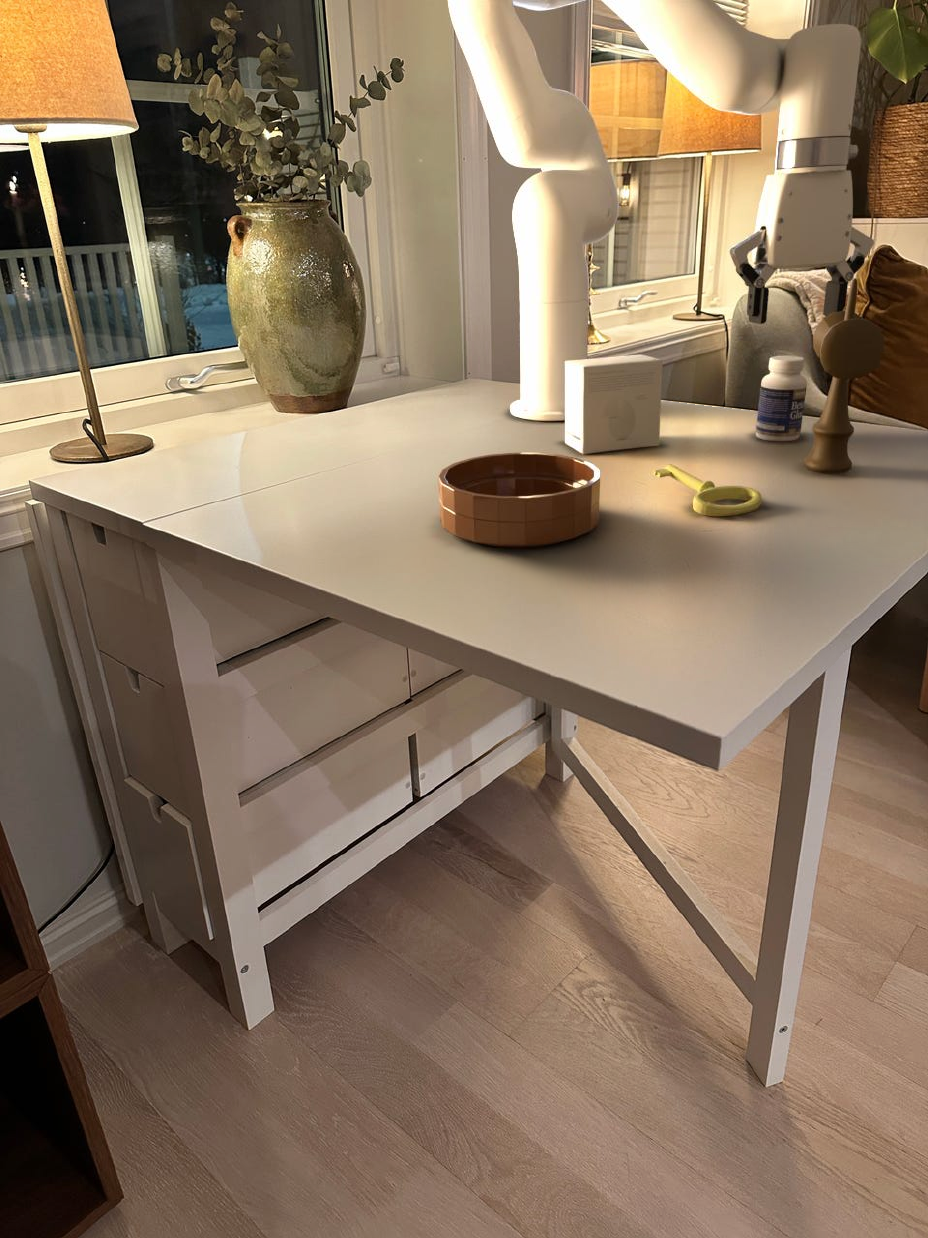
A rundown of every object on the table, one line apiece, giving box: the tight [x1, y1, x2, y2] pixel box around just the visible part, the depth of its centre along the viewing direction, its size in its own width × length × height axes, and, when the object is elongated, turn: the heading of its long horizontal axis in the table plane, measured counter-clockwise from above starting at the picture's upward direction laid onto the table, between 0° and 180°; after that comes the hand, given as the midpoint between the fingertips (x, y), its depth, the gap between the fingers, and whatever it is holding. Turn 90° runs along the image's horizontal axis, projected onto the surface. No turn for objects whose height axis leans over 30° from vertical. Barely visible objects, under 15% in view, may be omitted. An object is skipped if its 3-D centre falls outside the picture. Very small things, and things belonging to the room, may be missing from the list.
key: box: [653, 463, 762, 517], centre depth 90 cm, size 7×12×2 cm, turn 43°
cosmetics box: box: [564, 353, 664, 455], centre depth 109 cm, size 10×6×10 cm, turn 105°
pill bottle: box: [755, 355, 808, 442], centre depth 110 cm, size 5×5×10 cm
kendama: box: [803, 278, 885, 474], centre depth 94 cm, size 6×10×20 cm, turn 167°
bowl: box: [437, 452, 601, 548], centre depth 85 cm, size 15×15×5 cm
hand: (794, 319), depth 106 cm, fingers open, 9 cm apart
